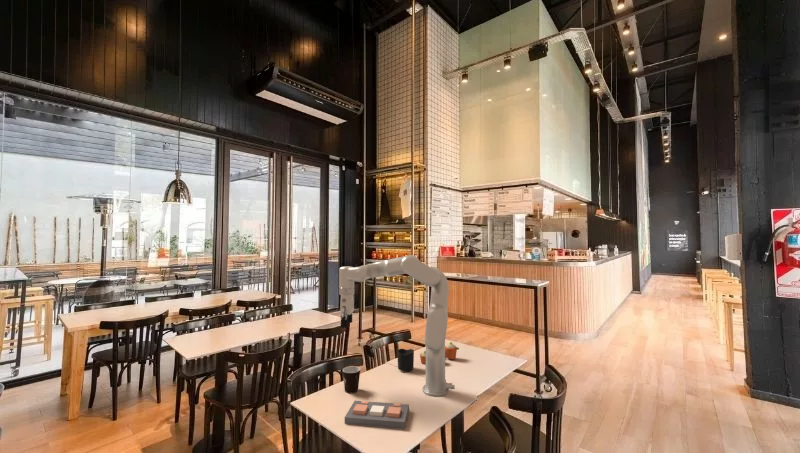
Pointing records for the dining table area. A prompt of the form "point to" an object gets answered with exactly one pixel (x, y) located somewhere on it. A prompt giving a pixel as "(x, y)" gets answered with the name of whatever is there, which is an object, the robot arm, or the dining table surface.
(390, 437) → the dining table surface
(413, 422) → the dining table surface
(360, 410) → the key
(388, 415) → the key
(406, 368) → the pen holder
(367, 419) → the keypad housing
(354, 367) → the coffee mug
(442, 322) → the robot arm
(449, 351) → the potted plants
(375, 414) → the key middle
